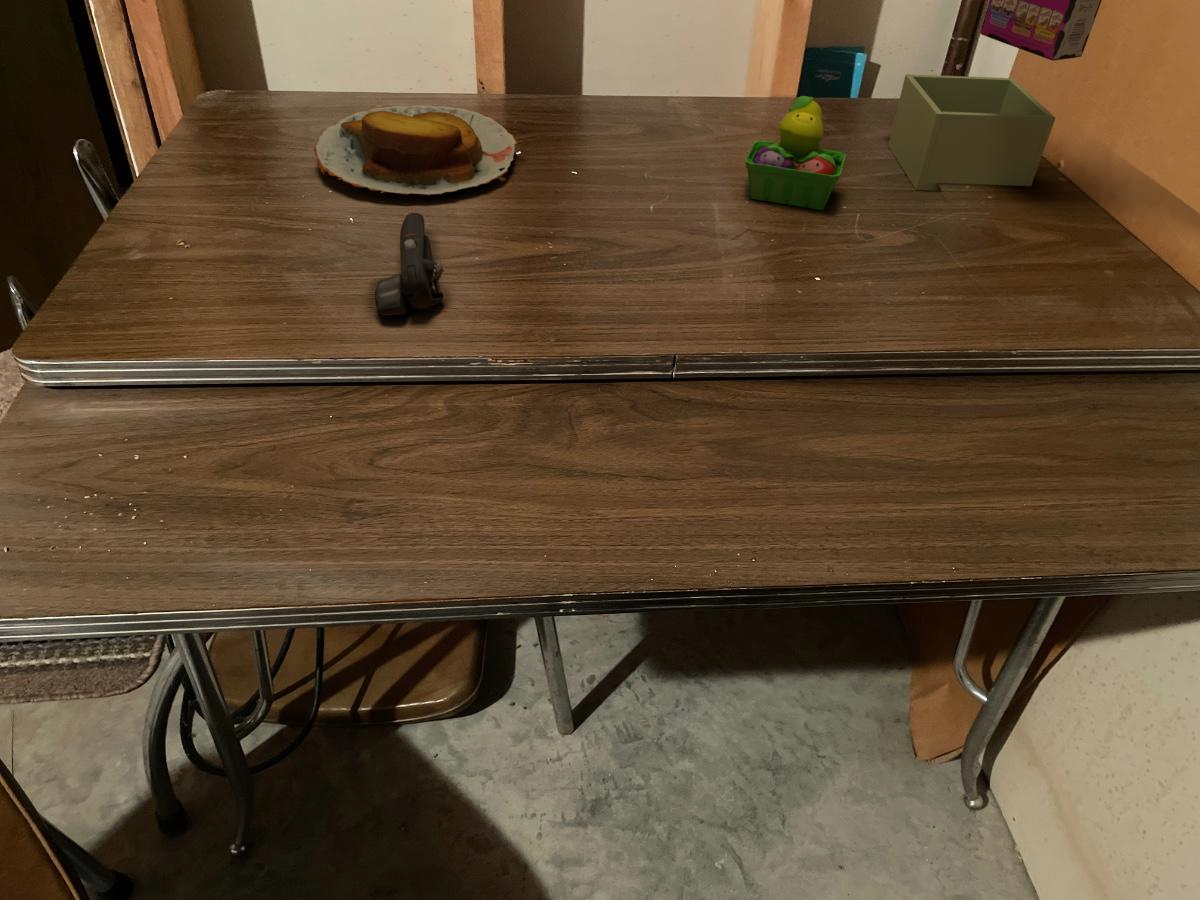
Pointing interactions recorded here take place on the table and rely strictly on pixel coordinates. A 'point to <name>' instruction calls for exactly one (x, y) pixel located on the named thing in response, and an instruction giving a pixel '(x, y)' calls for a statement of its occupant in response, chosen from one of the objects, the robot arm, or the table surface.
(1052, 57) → the candy bar box
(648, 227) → the table surface
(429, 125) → the food on plate
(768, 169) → the fruit basket
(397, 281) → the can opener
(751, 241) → the table surface
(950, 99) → the waste bin
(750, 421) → the table surface
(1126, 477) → the table surface
